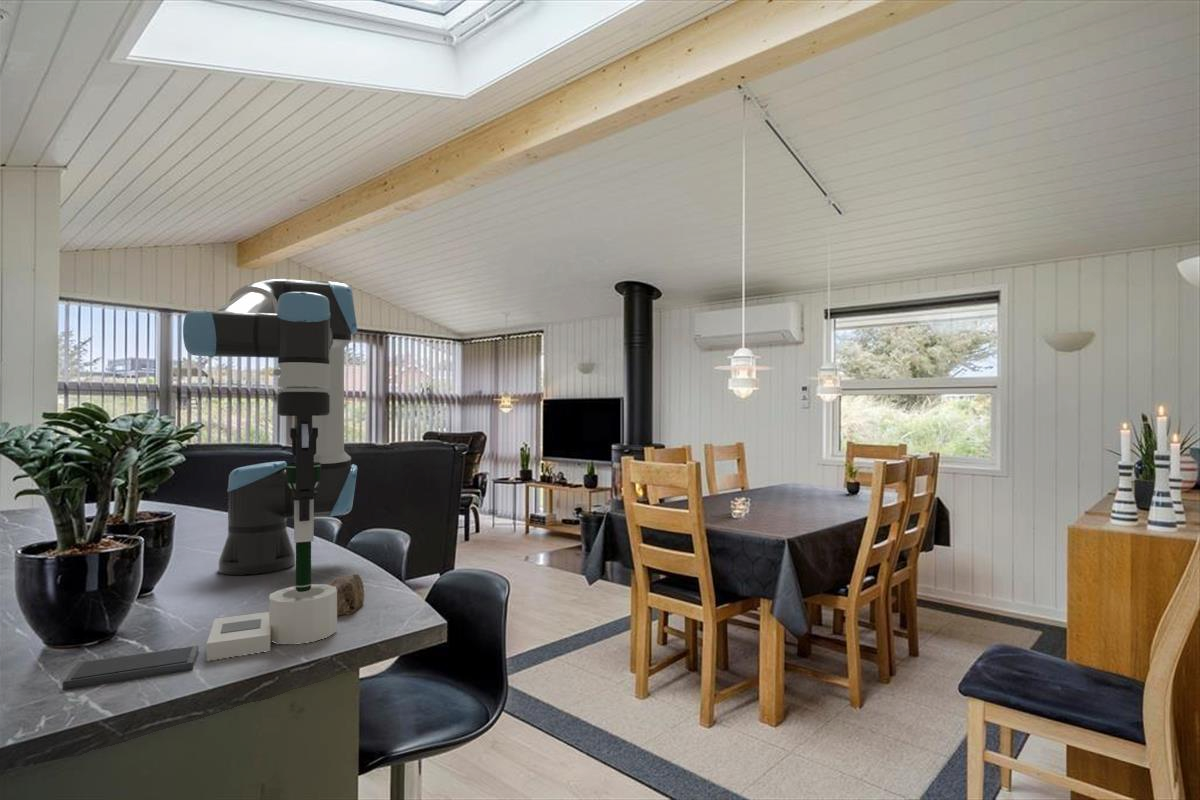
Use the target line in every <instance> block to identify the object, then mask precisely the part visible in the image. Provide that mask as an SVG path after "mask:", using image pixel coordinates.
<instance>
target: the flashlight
mask: <svg viewBox="0 0 1200 800" xmlns="http://www.w3.org/2000/svg"><path fill="white" fill-rule="evenodd" d="M320 465H321V463H319V462H314V490H315V489H316V488H317V486H318V484H319V482H320V479H321V466H320ZM286 466H287V467H286V481H287V484H288V486H289V488H290V489H291V490H292V491H293V493H294V494H295V492H296V465H295V462H290V463H287V465H286ZM311 584H312V541H308V542H296V543H295V586H296V590H297V591H298V592H305V591H308V590H310V588H311Z"/></svg>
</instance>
